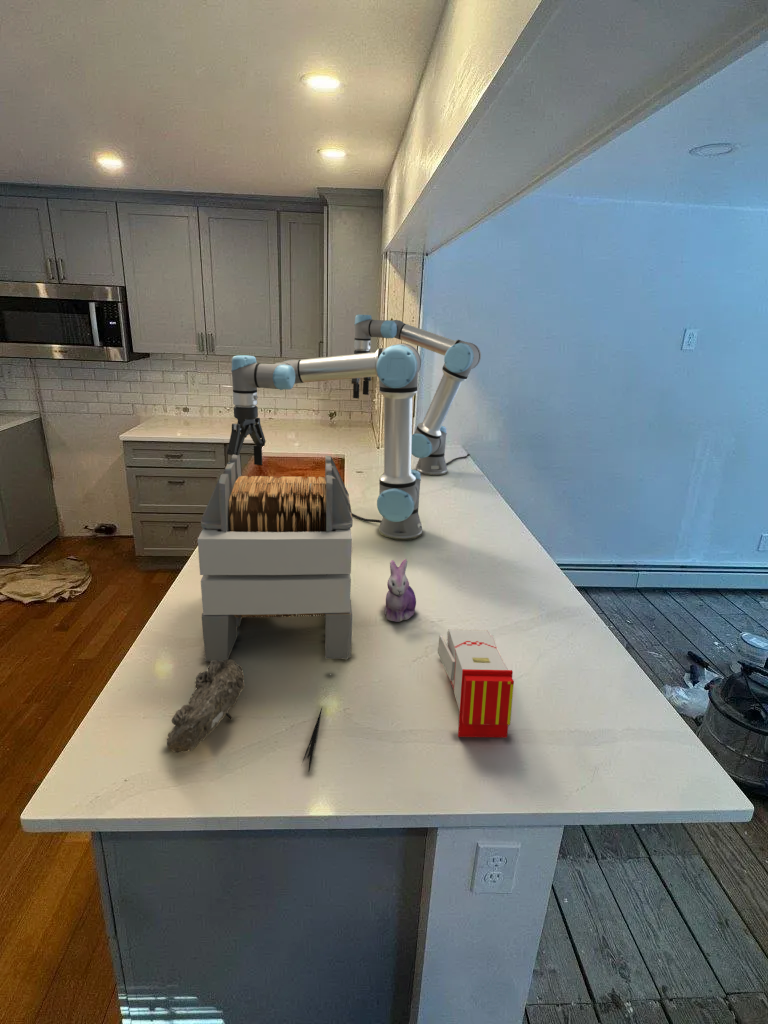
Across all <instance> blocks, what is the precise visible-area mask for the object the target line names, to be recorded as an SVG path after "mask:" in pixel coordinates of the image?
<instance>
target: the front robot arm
mask: <svg viewBox="0 0 768 1024" xmlns="http://www.w3.org/2000/svg"><path fill="white" fill-rule="evenodd" d="M421 367H422V357H421V355H420V352H419V350H418V349H417V348H415V347H414V346H413V345H412V344H410V343H397V344H392V345H390V346H388V347H381V348H377V350H376V351H372V352H370V353H362V354H354V353H352V354H343V355H331V356H321V357H312V358H301V359H287V360H284V361H280V362H276V363H260V362H258V361H257V358H256V356H254V355H246V354H245V355H244V354H243V355H242V354H241V355H240V354H238V355H234V356H233V357H232V358H231V370H230V371H231V379H232V404H233V405H234V406H233V417H234V419H236V420H237V423H231V430H230V431H231V432H230V436H229V437H230V438H229V442H228V447H227V451H226V453H227V455H228V456H232V455H233V454H234V455H240V464H241V465H242V455H241V454H240V453H241V451H242V447H243V444H244V442H245V439H247V437H248V436H250V439H251V440H252V442H253V443H254V445H253V465H254V466H263V447H265V445H266V437H265V434H264V431H263V427H262V425H261V418H260V417H259V408H258V406H257V405H258V389H272V390H280V391H283V390H288V391H289V390H292V389H293V388H294V386H295V385H296V384H304V383H315V382H316V383H317V382H327V381H339V380H350V379H351V380H352V378H360V379H364V378H363V377H371V378H372V377H378V391H379V393H380V394H381V395H382V396H383V473H382V474H381V475H380V476H379V478H378V479H379V480H378V481H379V491H378V493H379V495H378V497H377V499H376V508H377V510H378V511H377V512H378V513H379V514H380V515H381V517H382V519H375V518H364V517H361V516H359V515H357V514H355V513H352V518H354V519H357V520H359V521H362V522H368V523H377V524H378V523H379V526H378V533H379V534H380V535H381V536H382V537H385V538H387V539H389V540H395V541H410V540H415V539H418V538H420V537H421V536H422V535H423V524H422V521H421V518H420V515H419V507H420V506H419V505H420V504H419V503H420V490H421V481H422V479H421V476H422V474H421V473H420V472H419V471H416V469H412V454H411V450H412V435H413V398H414V396H415V395H416V394H417V393H418V391H419V390H418V385H419V372H420V370H421ZM242 472H243V471H241V476H243V475H242V474H243V473H242Z"/></svg>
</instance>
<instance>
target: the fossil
mask: <svg viewBox="0 0 768 1024" xmlns="http://www.w3.org/2000/svg"><path fill="white" fill-rule="evenodd" d="M243 670H244V669H243V667H242V665H240V664H237V662H236V661H235V660H234V659H232V658H231V659H229V658H228V659H227V660H224V661H217V660H212V661H211V662H209V665H208V666H207V671H201V672H199V673H198V674H197V675H196V676H195V680H194V684H195V685H194V687H195V689H194V690H193V693H192V694H191V697H190V698H189V700H188V704H184V705H182V706H181V707H180V709H177V710H176V711H175V713H174V715H173V716H172V718H171V723H172V724H173V727H172V730H171V731H170V732H168V734H167V738H166V741H167V742H166V745H167V749H168V750H169V751H173V752H174V753H176V754H178V753H182V752H188V751H189V752H192V751H193V750H195V748H196V747H197V746H199V744H200V743H201V742H203V741H204V740H205V739H206V738H207V737H208V736H209V735H210V734H211V733H212V732H214V730H215V729H217V727H218V726H219V724H220V722H221V721H222V720H223V719H224V718H225V716H226V717H227V719H229V720H233V717H232V715H230V714H229V710H230V709H231V708H234V706H235V704H236V703H237V702H238V699H239V697H240V695H241V693H242V691H243V690H245V689H244V688H245V675H244V671H243Z"/></svg>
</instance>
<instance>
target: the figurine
mask: <svg viewBox="0 0 768 1024" xmlns="http://www.w3.org/2000/svg"><path fill="white" fill-rule="evenodd" d="M407 567H408V559H406V558H404V559H403V560H402V561H401V563H400V565H399V566H398V565H397V563H396V562H395V561H394V560H393V559H391V560H390V561H389V570H390V576H389V578H388V579H387V589H388V591H387V592H386V594H385V595H386V596H385V607H384V615H385V616H386V620H387V621H391V622H395V623H400V622H402V621H406V620H409V619H410V618H411V617H413V616H414V615H415V610H416V606H417V597H416V593H415V591H414V590H413V587H411V586H410V582H409V579H408V577H407V574H406V571H407Z"/></svg>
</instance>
